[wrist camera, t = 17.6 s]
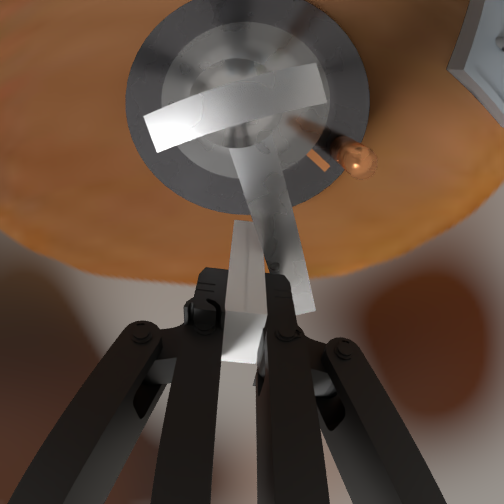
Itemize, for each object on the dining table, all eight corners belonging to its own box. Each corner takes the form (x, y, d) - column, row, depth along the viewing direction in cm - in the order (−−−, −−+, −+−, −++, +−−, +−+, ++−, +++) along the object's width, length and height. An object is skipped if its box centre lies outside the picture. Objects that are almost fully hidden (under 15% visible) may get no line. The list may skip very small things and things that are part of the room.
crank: (152, 59, 15) (45, 41, 5) (298, 15, 13) (348, -62, 4) (222, 245, 22) (200, 365, 13) (348, 214, 21) (410, 319, 11)
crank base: (184, -24, 13) (161, -55, 8) (391, 56, 16) (432, 51, 11) (114, 166, 21) (77, 191, 16) (302, 233, 24) (314, 275, 19)
